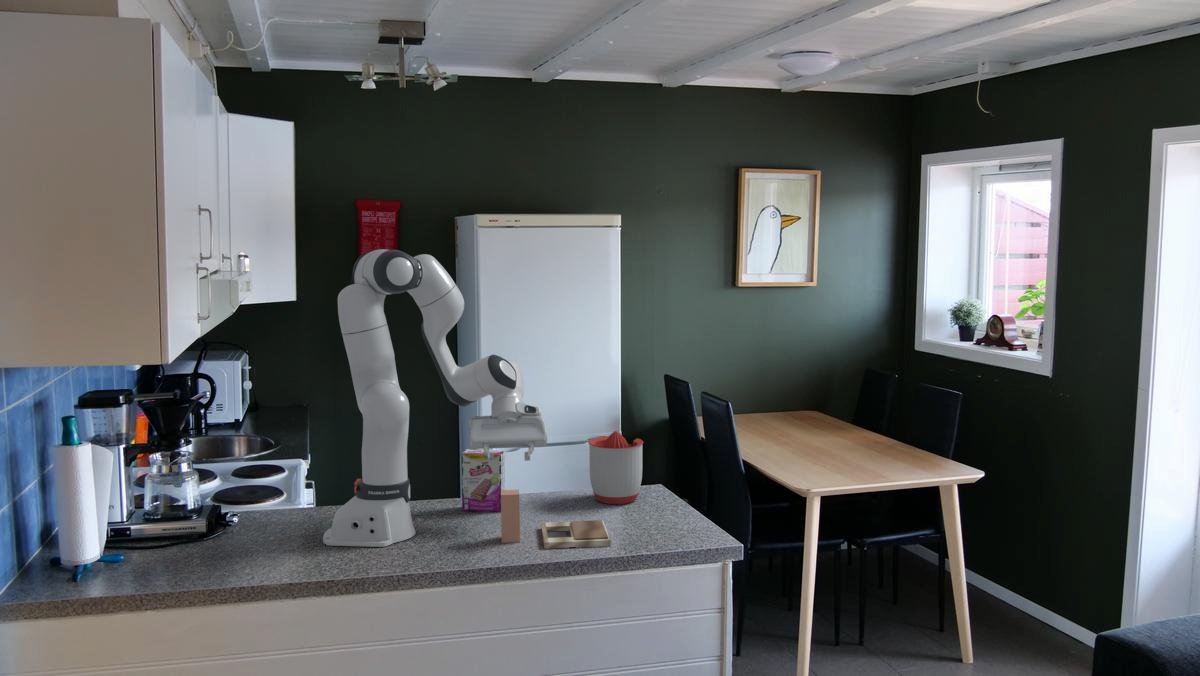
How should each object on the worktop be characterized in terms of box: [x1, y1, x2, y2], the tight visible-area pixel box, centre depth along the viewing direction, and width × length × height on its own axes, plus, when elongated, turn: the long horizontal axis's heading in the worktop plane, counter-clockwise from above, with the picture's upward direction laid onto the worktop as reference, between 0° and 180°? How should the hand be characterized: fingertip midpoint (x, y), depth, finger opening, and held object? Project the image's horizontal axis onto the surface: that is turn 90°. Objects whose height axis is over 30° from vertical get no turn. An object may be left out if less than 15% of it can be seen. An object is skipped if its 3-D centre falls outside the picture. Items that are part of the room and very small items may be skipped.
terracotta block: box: [500, 489, 521, 544], centre depth 230 cm, size 4×4×12 cm
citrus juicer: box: [588, 430, 644, 505], centre depth 266 cm, size 16×17×20 cm
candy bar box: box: [461, 448, 506, 513], centre depth 256 cm, size 11×5×16 cm, turn 84°
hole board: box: [541, 519, 612, 550], centre depth 233 cm, size 16×16×2 cm
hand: (509, 460), depth 240 cm, fingers open, 8 cm apart
